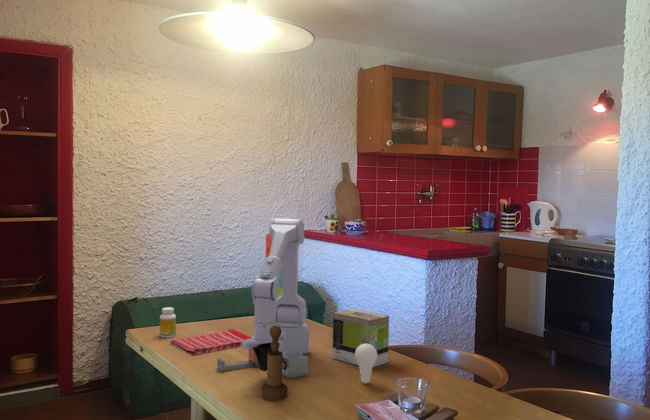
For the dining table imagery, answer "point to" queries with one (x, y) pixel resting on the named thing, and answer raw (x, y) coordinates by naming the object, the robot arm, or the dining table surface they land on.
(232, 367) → the rail
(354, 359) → the tea box
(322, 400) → the dining table surface
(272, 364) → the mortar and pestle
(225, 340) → the dish towel
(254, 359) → the block
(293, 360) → the grey block with hole
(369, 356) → the lightbulb
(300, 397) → the dining table surface
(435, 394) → the dining table surface
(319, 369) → the dining table surface
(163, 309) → the supplement bottle
